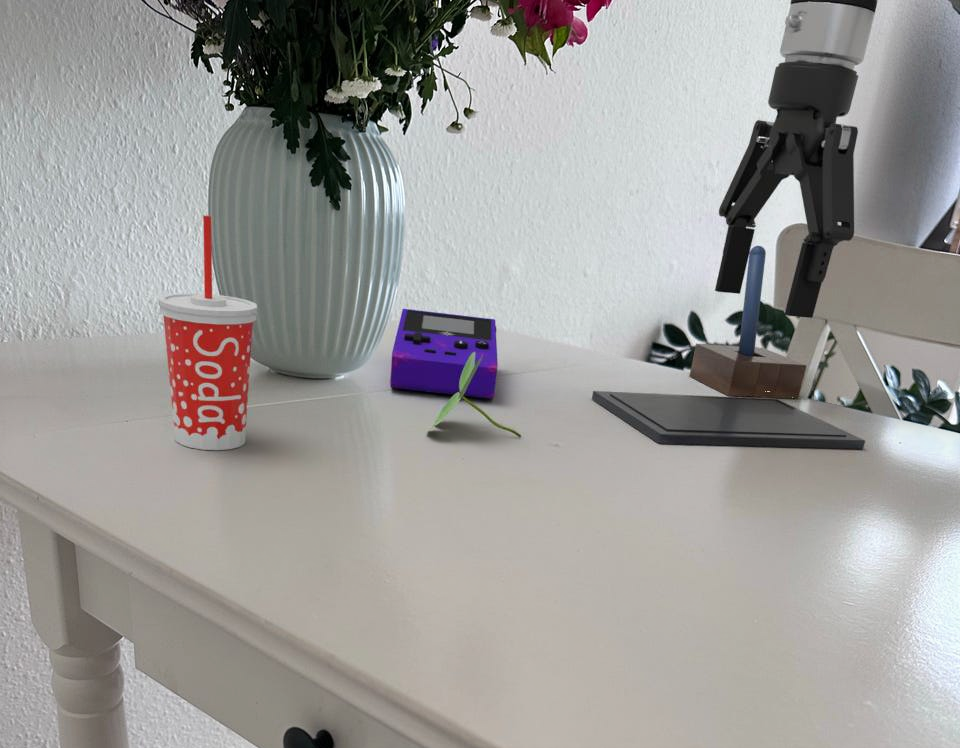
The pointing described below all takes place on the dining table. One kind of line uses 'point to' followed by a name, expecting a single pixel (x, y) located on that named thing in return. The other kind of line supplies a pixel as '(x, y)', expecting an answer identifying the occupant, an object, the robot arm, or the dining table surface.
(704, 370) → the pen stand
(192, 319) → the beverage cup
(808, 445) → the tablet
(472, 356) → the seedling
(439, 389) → the handheld gaming console
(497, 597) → the dining table surface
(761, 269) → the stylus
